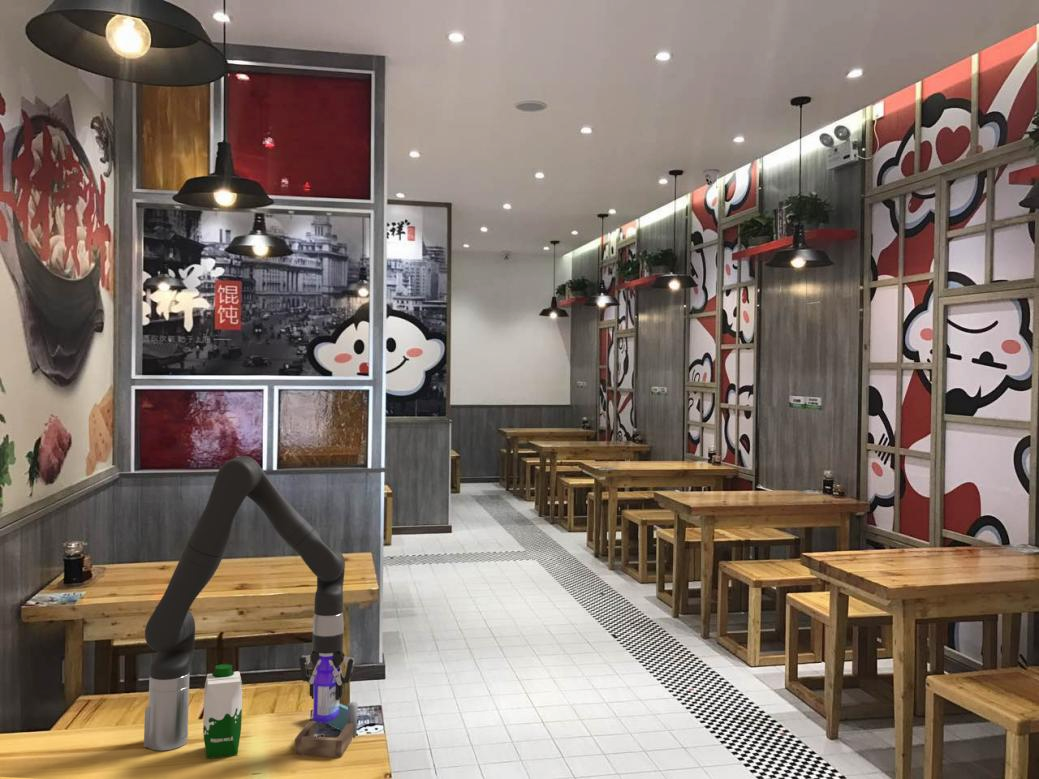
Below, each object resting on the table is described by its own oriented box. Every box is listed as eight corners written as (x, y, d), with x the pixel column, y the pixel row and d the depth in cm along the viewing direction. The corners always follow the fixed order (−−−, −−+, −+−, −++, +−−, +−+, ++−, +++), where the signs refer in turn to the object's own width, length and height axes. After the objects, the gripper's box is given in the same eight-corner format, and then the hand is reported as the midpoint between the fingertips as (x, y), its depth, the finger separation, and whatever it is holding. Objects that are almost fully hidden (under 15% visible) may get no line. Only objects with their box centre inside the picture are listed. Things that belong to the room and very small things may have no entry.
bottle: (330, 725, 201) (332, 654, 201) (308, 723, 202) (310, 652, 202) (342, 714, 208) (344, 645, 208) (321, 712, 209) (323, 643, 210)
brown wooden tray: (294, 755, 199) (295, 738, 199) (308, 736, 210) (309, 721, 210) (341, 757, 199) (341, 740, 199) (352, 738, 210) (353, 723, 210)
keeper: (311, 718, 222) (311, 688, 222) (318, 715, 224) (319, 686, 224) (350, 737, 210) (351, 706, 210) (358, 735, 211) (359, 704, 212)
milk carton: (239, 741, 206) (241, 661, 207) (241, 756, 198) (243, 673, 198) (202, 746, 203) (204, 665, 203) (202, 761, 195) (205, 676, 195)
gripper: (295, 633, 202) (293, 702, 202) (352, 635, 201) (350, 705, 201) (304, 625, 210) (302, 692, 209) (360, 627, 209) (358, 694, 209)
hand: (326, 698), depth 205 cm, fingers closed on bottle, 5 cm apart
